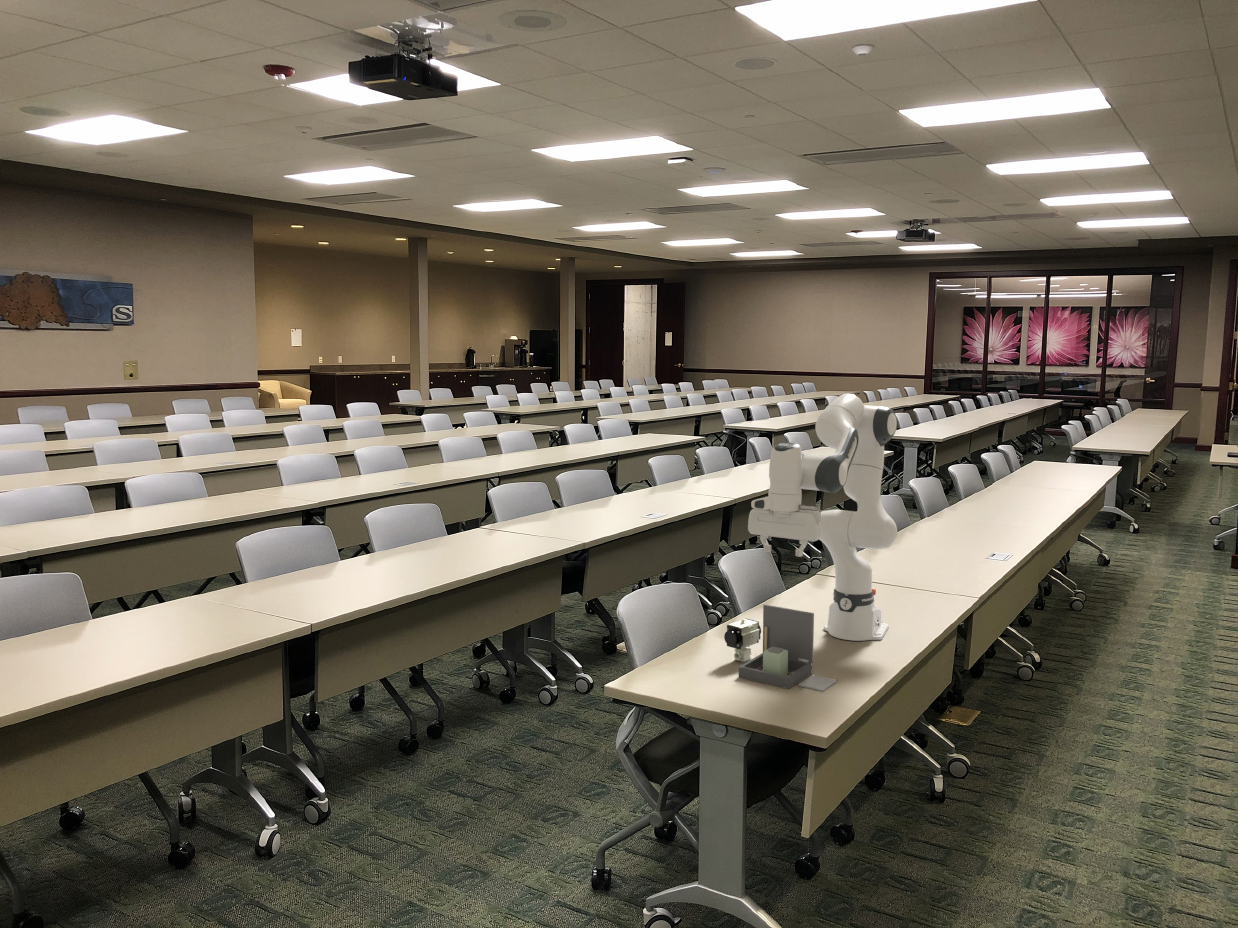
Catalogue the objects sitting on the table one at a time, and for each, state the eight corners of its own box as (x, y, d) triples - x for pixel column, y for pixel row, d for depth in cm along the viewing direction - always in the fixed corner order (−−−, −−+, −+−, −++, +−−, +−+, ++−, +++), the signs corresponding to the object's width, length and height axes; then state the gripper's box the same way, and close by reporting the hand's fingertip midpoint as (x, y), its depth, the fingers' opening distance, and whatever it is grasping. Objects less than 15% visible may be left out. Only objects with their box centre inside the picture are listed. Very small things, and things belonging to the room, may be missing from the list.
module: (771, 671, 249) (771, 644, 248) (787, 674, 246) (788, 648, 245) (762, 676, 245) (763, 649, 244) (779, 680, 242) (779, 653, 241)
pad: (812, 676, 245) (812, 674, 245) (836, 681, 241) (837, 680, 241) (798, 685, 238) (798, 684, 238) (823, 691, 233) (823, 690, 233)
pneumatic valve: (723, 662, 256) (723, 622, 254) (748, 653, 264) (749, 613, 262) (738, 667, 252) (739, 626, 250) (763, 657, 260) (764, 617, 259)
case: (764, 662, 256) (765, 604, 254) (813, 672, 247) (814, 612, 245) (738, 677, 244) (739, 616, 242) (789, 689, 235) (790, 626, 233)
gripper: (825, 505, 238) (823, 557, 239) (756, 498, 250) (755, 547, 252) (815, 508, 233) (813, 560, 234) (745, 501, 245) (744, 550, 247)
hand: (783, 553), depth 243 cm, fingers open, 8 cm apart
